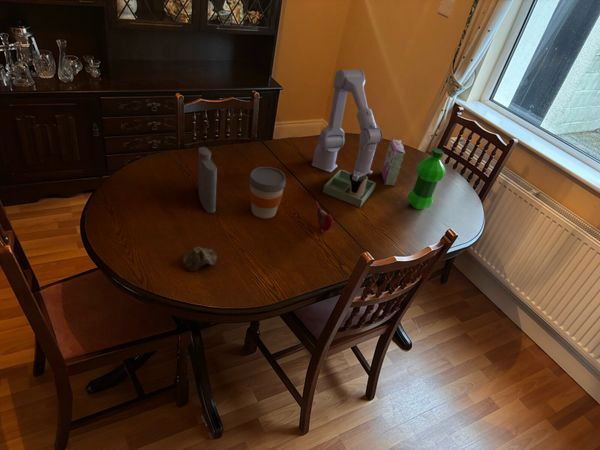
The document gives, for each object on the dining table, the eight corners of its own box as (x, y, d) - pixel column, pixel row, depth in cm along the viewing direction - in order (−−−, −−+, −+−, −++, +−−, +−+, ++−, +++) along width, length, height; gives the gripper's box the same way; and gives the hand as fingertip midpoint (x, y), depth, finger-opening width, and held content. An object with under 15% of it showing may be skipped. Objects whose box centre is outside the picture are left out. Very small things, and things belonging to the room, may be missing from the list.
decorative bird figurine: (323, 244, 151) (328, 220, 146) (309, 213, 165) (313, 190, 159) (331, 243, 152) (337, 220, 146) (316, 213, 166) (321, 190, 160)
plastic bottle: (402, 206, 178) (421, 151, 163) (409, 195, 186) (428, 141, 171) (426, 216, 175) (448, 160, 160) (432, 204, 183) (454, 150, 168)
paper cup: (346, 194, 174) (350, 176, 170) (351, 188, 179) (356, 171, 174) (359, 199, 173) (364, 182, 168) (364, 193, 177) (369, 176, 172)
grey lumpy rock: (214, 246, 139) (182, 252, 137) (213, 239, 132) (179, 246, 130) (219, 269, 136) (186, 276, 134) (218, 263, 130) (184, 271, 128)
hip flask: (216, 212, 157) (218, 163, 145) (204, 214, 155) (205, 164, 143) (206, 188, 168) (207, 140, 156) (195, 189, 166) (195, 140, 154)
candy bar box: (380, 171, 198) (390, 138, 189) (391, 173, 199) (402, 140, 189) (383, 184, 189) (394, 150, 180) (395, 186, 190) (406, 152, 180)
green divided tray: (322, 192, 178) (324, 185, 175) (338, 176, 190) (340, 169, 188) (360, 207, 173) (362, 200, 171) (373, 189, 185) (376, 182, 183)
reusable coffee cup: (276, 224, 156) (281, 189, 147) (241, 216, 157) (245, 180, 148) (284, 205, 166) (289, 171, 157) (252, 198, 167) (255, 163, 158)
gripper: (368, 169, 160) (359, 200, 168) (381, 154, 170) (372, 184, 179) (350, 162, 162) (342, 193, 170) (364, 148, 173) (356, 178, 181)
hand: (356, 188), depth 174 cm, fingers closed on paper cup, 6 cm apart
